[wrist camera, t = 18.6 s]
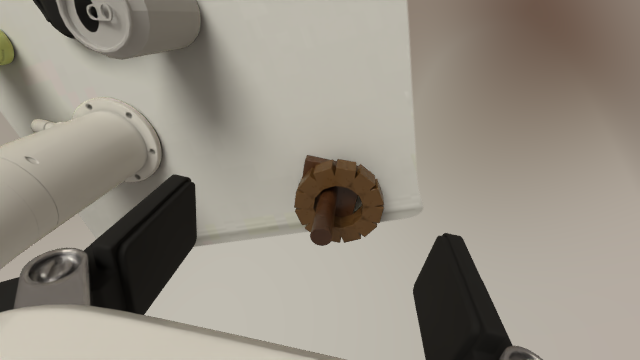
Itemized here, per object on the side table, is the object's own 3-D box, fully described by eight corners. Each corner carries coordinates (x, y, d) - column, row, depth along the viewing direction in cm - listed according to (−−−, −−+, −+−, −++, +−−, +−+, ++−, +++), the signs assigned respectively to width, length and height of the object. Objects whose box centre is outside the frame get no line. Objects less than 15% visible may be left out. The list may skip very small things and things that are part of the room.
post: (298, 202, 45) (281, 256, 35) (307, 154, 41) (290, 199, 31) (351, 214, 45) (348, 270, 35) (364, 167, 41) (365, 216, 31)
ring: (294, 222, 45) (291, 233, 43) (303, 152, 39) (299, 161, 37) (371, 237, 45) (371, 249, 42) (391, 168, 39) (393, 177, 37)
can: (131, -25, 33) (27, -43, 23) (196, -29, 32) (117, -49, 22) (152, 49, 37) (69, 62, 26) (210, 47, 36) (148, 61, 25)
